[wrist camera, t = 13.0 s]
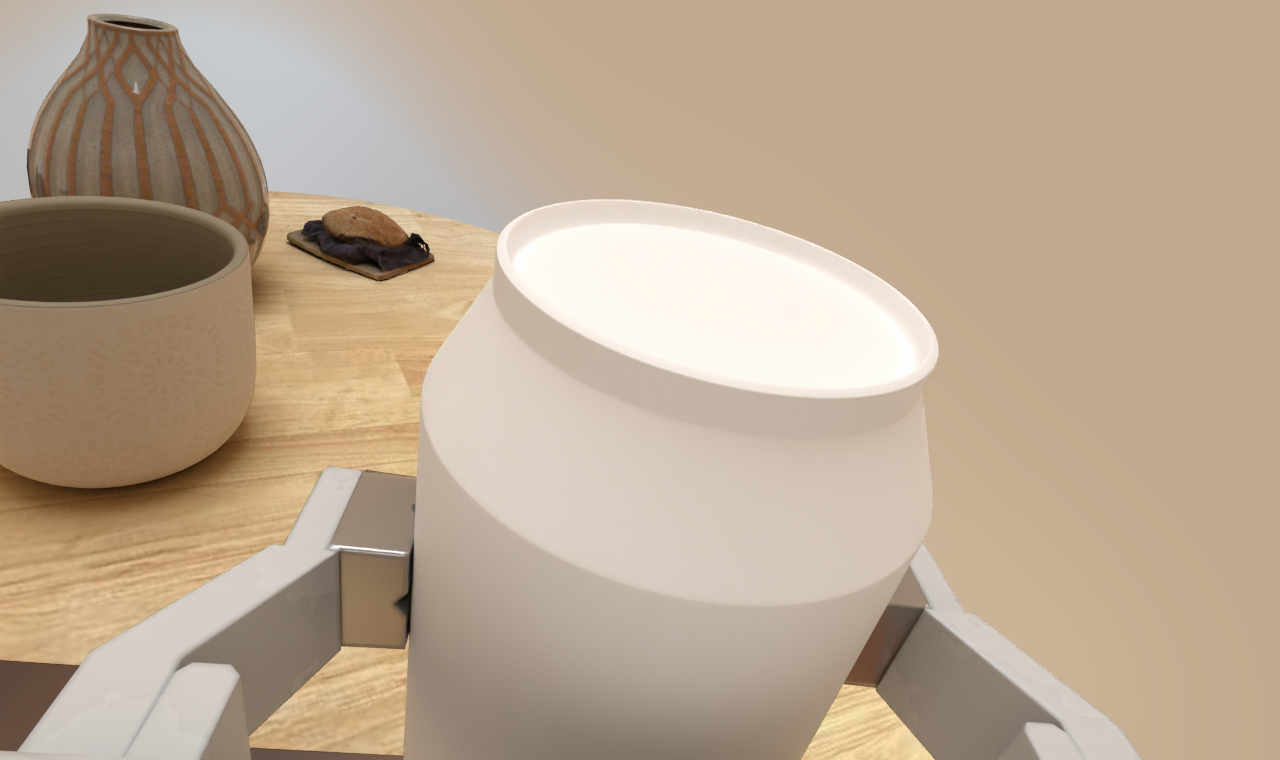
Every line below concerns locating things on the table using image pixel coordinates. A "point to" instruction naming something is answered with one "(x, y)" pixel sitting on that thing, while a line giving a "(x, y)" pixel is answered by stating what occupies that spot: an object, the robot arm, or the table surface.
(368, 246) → the bread roll
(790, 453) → the beverage can
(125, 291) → the planter
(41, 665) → the cabinet
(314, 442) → the table surface
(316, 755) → the drawer
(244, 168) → the vase
